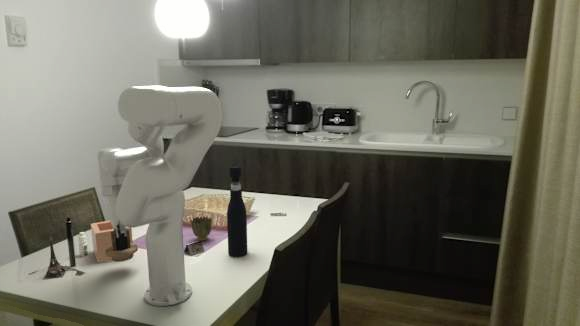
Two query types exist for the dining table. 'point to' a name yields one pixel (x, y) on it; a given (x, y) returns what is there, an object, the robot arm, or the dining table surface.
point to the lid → (121, 254)
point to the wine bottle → (236, 217)
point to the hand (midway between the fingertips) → (121, 247)
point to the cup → (201, 227)
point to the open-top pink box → (103, 239)
